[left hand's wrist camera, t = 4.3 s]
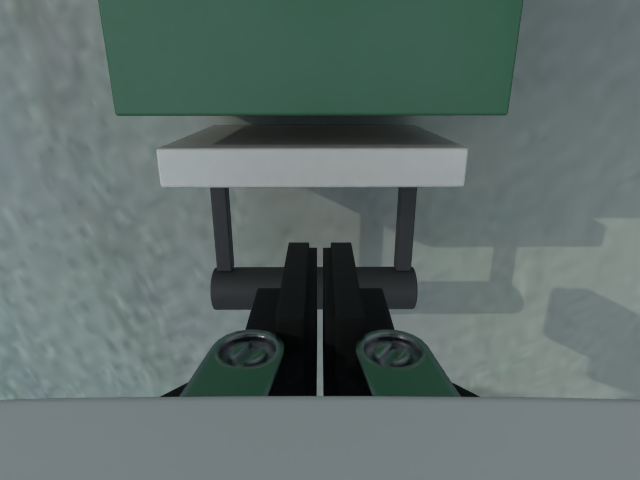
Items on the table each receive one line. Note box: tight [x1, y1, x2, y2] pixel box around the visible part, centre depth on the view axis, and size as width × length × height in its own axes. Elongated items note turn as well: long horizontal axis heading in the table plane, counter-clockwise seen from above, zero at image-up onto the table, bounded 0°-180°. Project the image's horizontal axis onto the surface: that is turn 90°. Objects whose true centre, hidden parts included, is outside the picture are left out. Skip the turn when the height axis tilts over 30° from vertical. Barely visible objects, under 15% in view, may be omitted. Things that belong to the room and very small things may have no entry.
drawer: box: [156, 125, 468, 310], centre depth 16 cm, size 20×9×8 cm, turn 0°
